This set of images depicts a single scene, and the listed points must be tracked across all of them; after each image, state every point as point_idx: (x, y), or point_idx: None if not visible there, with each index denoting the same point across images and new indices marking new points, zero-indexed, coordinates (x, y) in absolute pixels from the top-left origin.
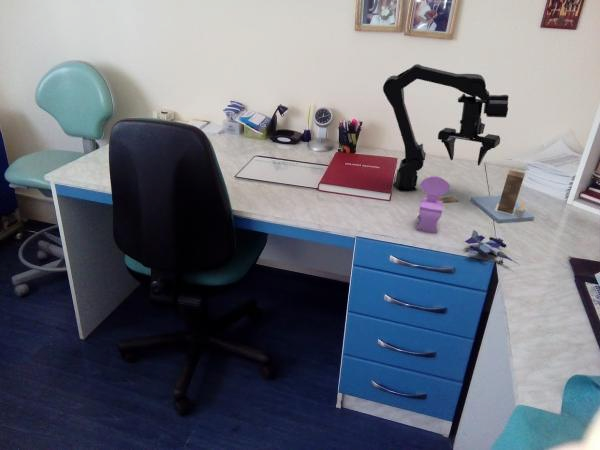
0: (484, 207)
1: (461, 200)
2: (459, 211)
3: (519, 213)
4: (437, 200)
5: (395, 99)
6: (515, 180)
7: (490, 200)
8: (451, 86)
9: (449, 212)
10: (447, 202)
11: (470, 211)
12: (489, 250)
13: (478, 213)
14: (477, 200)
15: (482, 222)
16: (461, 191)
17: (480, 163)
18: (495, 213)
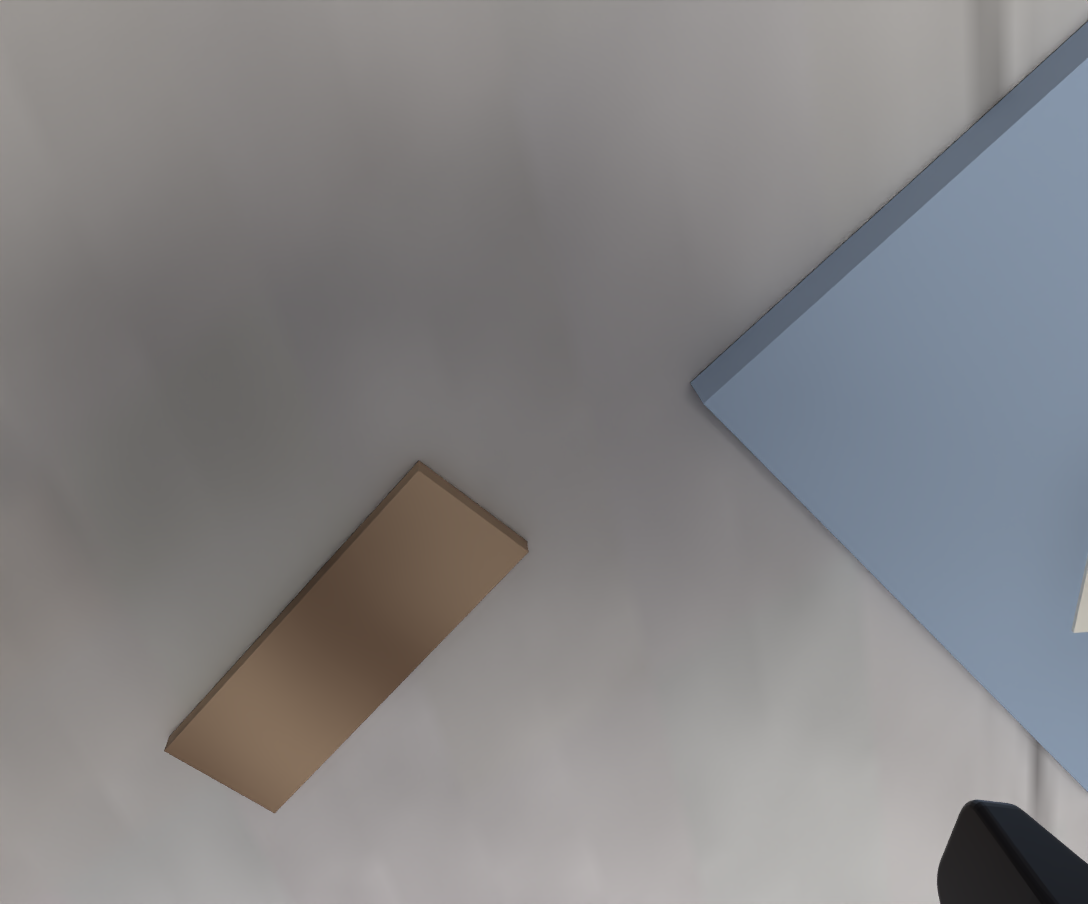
0: (936, 622)
1: (566, 467)
2: (624, 794)
3: None
4: (273, 735)
5: None
6: None
7: (1020, 319)
8: None
9: (522, 885)
10: (408, 665)
11: (752, 714)
12: None
13: (855, 703)
14: (817, 459)
15: (918, 874)
16: (468, 85)
17: (1043, 834)
18: (1084, 703)
